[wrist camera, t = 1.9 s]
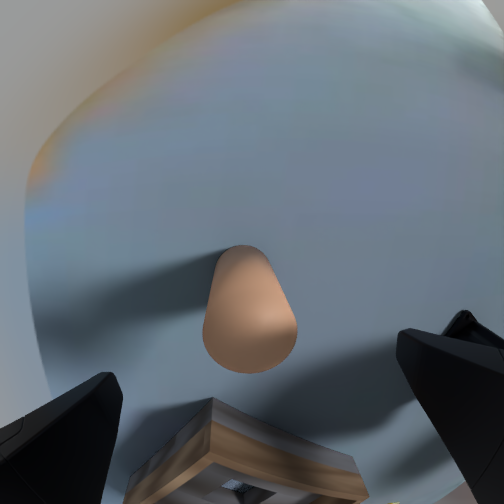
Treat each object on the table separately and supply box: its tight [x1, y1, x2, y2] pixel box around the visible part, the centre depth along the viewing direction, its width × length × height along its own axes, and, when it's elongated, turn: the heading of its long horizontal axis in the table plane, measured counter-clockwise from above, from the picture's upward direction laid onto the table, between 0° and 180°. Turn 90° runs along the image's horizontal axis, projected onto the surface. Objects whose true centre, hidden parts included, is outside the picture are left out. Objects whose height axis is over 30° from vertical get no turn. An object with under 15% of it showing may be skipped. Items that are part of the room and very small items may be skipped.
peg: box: [203, 245, 297, 373], centre depth 14 cm, size 3×3×8 cm
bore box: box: [123, 397, 369, 504], centre depth 20 cm, size 16×16×6 cm
